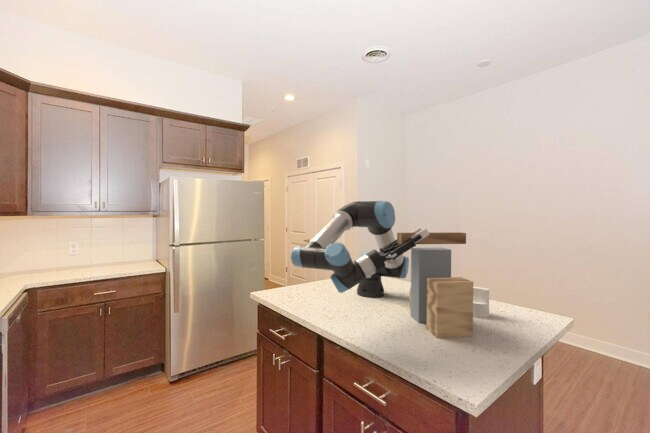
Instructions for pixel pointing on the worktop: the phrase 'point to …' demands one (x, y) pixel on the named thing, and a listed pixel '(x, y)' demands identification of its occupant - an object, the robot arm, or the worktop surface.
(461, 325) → the oak block
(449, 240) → the walnut block
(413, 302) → the slate-grey stand
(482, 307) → the cylinder with rectangular tab
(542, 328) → the worktop surface
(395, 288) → the worktop surface
